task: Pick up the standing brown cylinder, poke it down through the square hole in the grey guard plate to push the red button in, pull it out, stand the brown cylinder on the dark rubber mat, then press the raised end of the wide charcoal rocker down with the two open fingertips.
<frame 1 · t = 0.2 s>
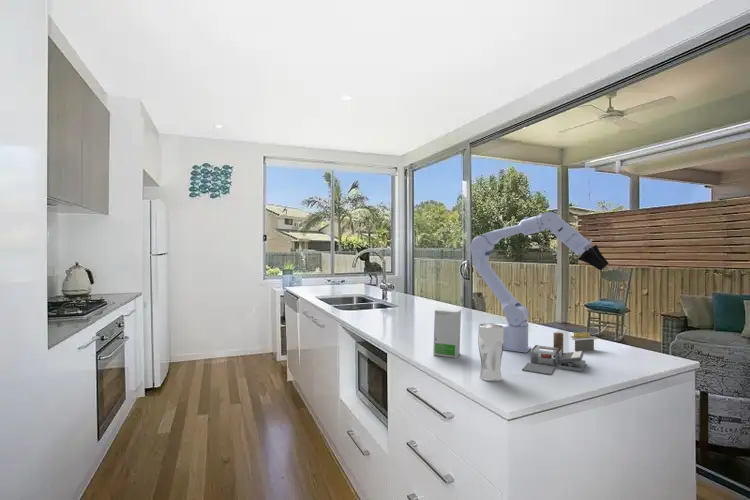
hand: (604, 266, 131), 31 cm above the counter, tool tilted 45°, fingers open, 7 cm apart
beer glass: (490, 378, 114), on the counter
mat: (538, 369, 122), on the counter
rocker: (571, 356, 126), point 3 cm above the counter, hinge at -14.0°
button: (546, 354, 131), point 2 cm above the counter, slide at 0.0 cm
brown cylinder: (558, 356, 136), on the counter
silver metal box: (554, 362, 129), on the counter
skincare box: (447, 355, 139), on the counter
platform: (582, 351, 146), on the counter
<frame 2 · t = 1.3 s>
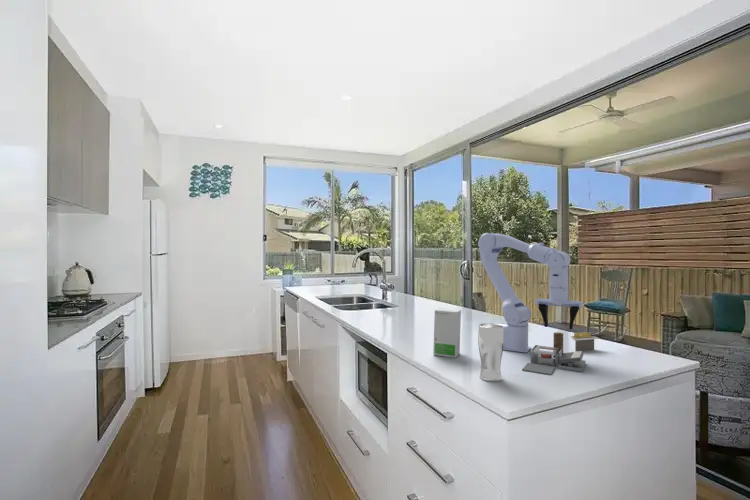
hand: (558, 327, 136), 10 cm above the counter, tool pointing down, fingers open, 7 cm apart
nothing on the counter moved.
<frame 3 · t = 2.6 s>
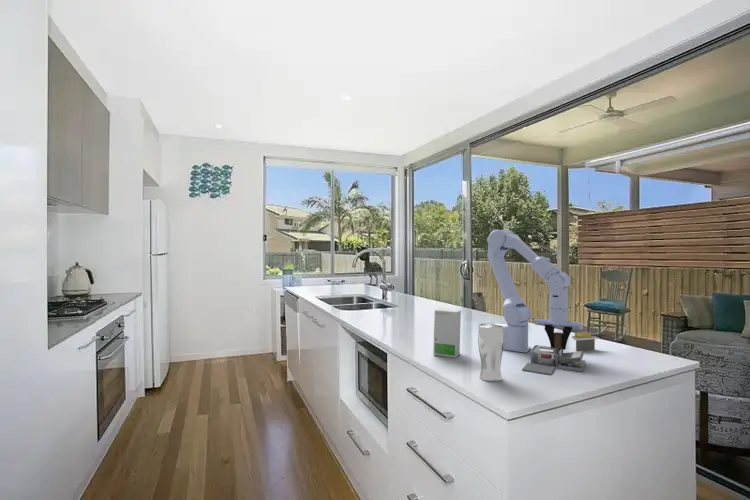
hand: (558, 348, 136), 3 cm above the counter, tool pointing down, fingers closed on brown cylinder, 3 cm apart
brown cylinder: (558, 356, 136), on the counter, touching gripper
everything else where it was.
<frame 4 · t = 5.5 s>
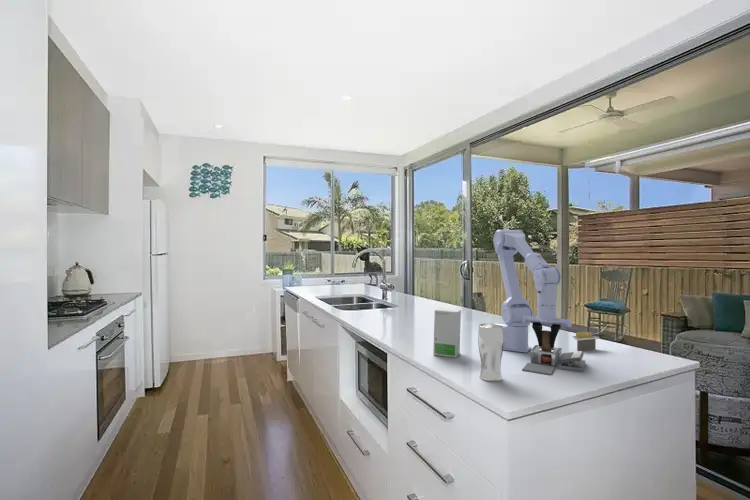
hand: (546, 346, 131), 5 cm above the counter, tool pointing down, fingers closed on brown cylinder, 3 cm apart
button: (546, 358, 131), point 1 cm above the counter, slide at 1.2 cm, touching silver metal box, brown cylinder
brown cylinder: (546, 355, 131), point 2 cm above the counter, touching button, gripper
when the fingers open (4 cm above the counter, at t = 8.4 s): brown cylinder stays where it is, resting on mat.
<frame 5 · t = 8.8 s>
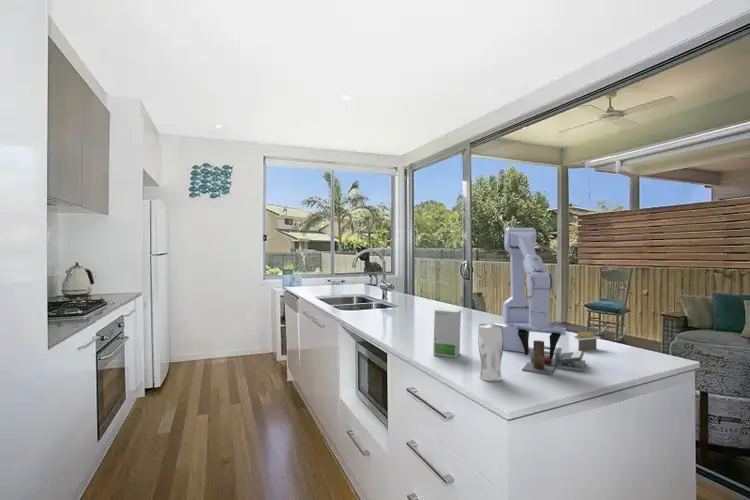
hand: (538, 356, 122), 4 cm above the counter, tool pointing down, fingers open, 6 cm apart
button: (546, 358, 131), point 1 cm above the counter, slide at 1.2 cm, touching silver metal box
brown cylinder: (538, 367, 123), resting on mat
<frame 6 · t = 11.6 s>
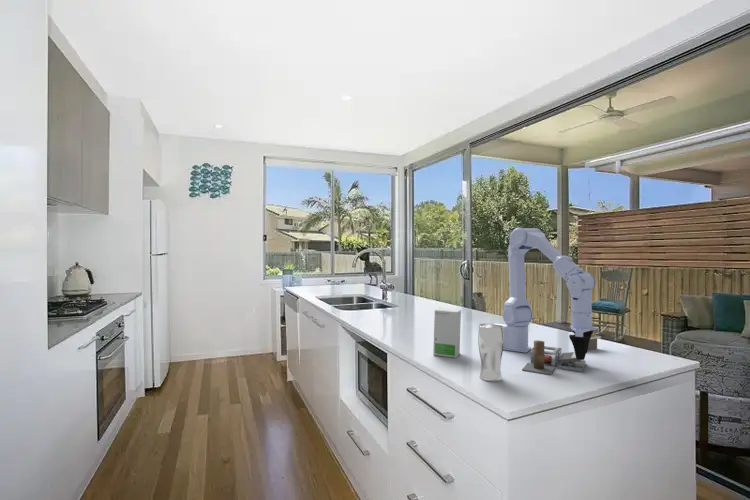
hand: (581, 356, 124), 4 cm above the counter, tool pointing down
rocker: (571, 356, 126), point 3 cm above the counter, hinge at -12.4°, touching gripper
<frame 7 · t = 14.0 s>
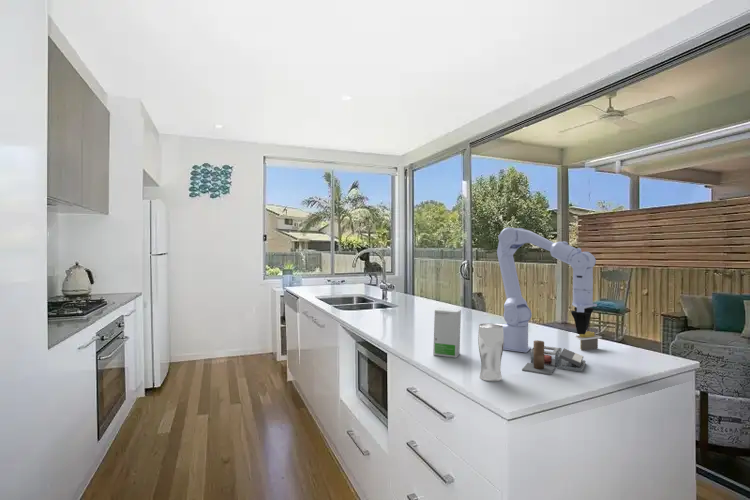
hand: (582, 331, 129), 10 cm above the counter, tool pointing down, fingers open, 7 cm apart
rocker: (571, 356, 126), point 3 cm above the counter, hinge at 17.7°
at the end: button slide at 1.2 cm; rocker at +18° (first picture: -14°); brown cylinder inside the target area on the mat (0.1 cm from its centre), point 0.4 cm above the mat's base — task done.
